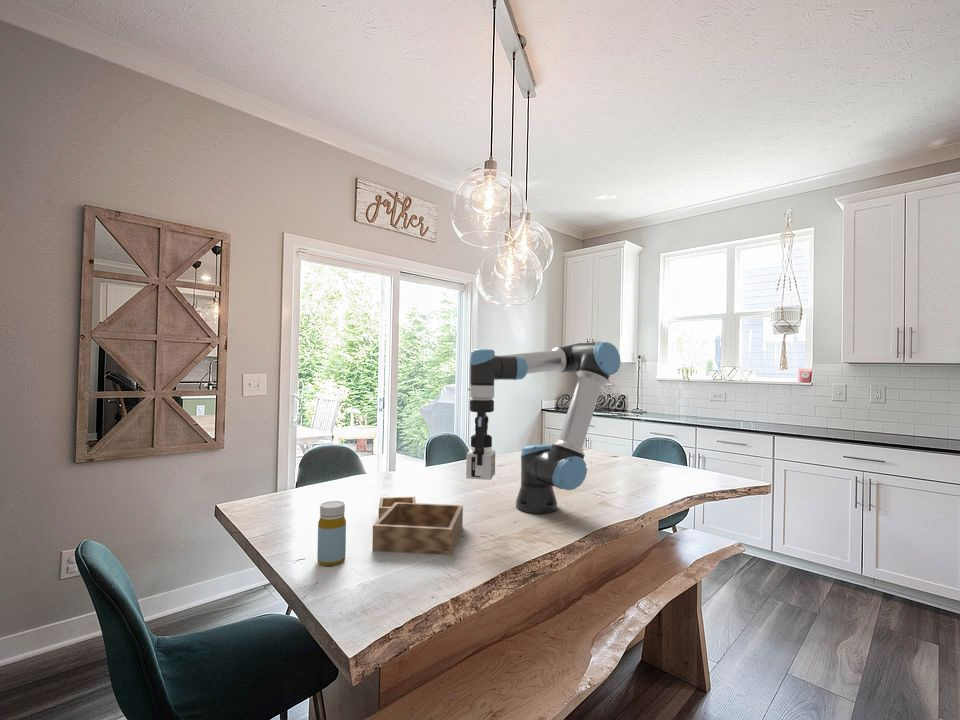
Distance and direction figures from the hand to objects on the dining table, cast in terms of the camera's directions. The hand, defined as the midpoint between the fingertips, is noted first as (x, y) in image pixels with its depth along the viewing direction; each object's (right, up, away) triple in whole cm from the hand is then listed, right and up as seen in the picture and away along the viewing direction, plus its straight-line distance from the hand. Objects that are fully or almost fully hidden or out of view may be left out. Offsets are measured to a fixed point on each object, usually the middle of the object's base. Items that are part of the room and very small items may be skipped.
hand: (481, 472), depth 144 cm
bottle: (-40, -18, -22) cm, 49 cm away
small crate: (-28, -19, +12) cm, 36 cm away
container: (0, -2, 0) cm, 2 cm away
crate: (-18, -19, -4) cm, 26 cm away
